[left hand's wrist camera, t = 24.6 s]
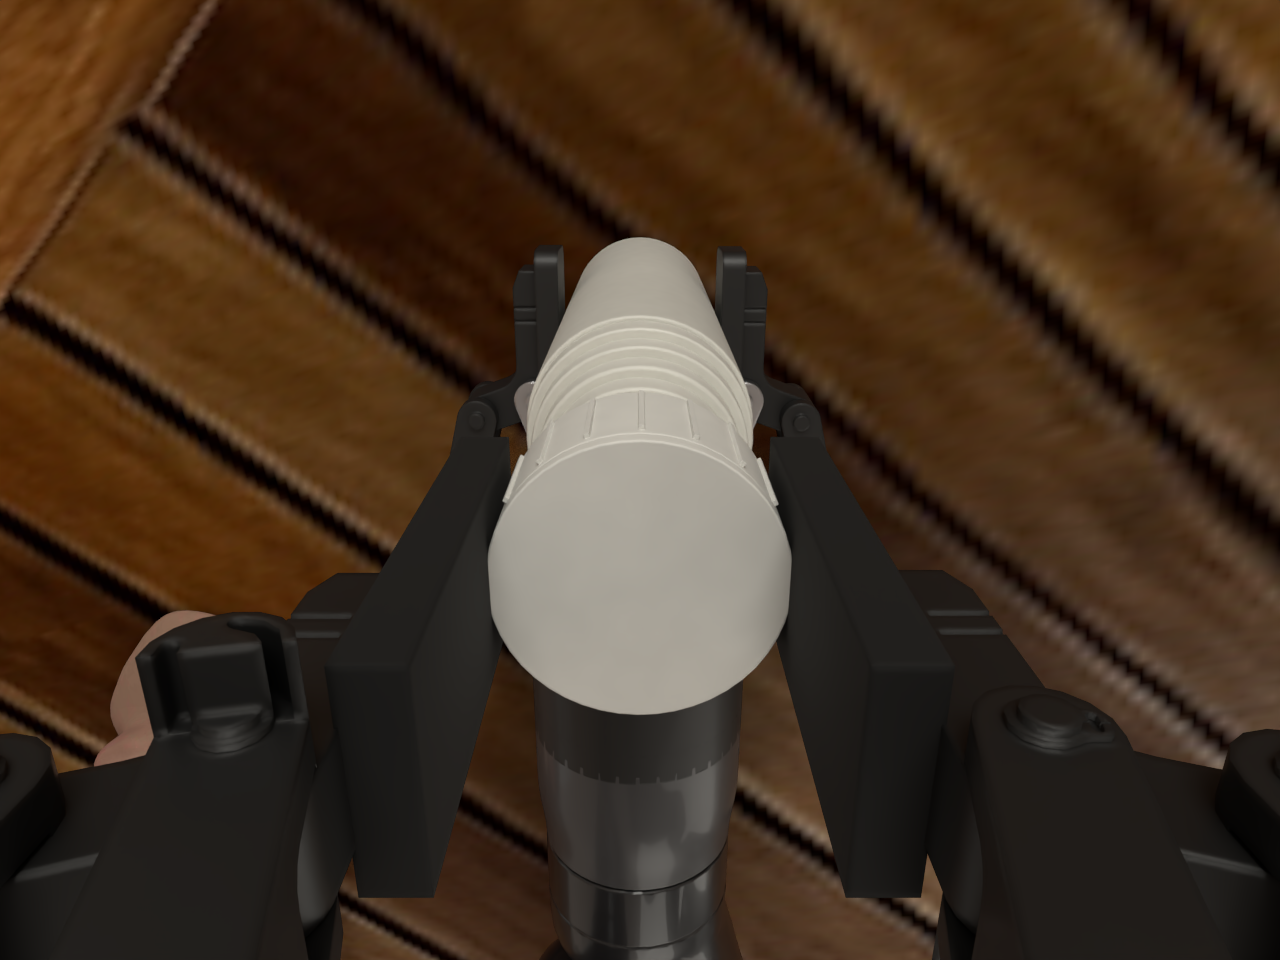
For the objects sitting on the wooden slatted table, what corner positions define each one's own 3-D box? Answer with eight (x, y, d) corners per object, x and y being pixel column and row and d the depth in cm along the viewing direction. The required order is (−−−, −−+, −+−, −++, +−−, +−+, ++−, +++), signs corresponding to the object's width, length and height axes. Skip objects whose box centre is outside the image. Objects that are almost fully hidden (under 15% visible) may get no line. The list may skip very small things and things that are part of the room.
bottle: (725, 269, 33) (864, 480, 12) (672, 385, 34) (719, 740, 14) (605, 215, 32) (544, 346, 12) (556, 337, 34) (430, 635, 13)
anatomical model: (51, 645, 34) (354, 693, 34) (110, 595, 37) (382, 639, 38) (65, 906, 38) (332, 943, 39) (116, 838, 42) (359, 873, 43)
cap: (782, 389, 14) (809, 437, 11) (763, 636, 15) (784, 721, 13) (501, 386, 14) (474, 433, 11) (511, 633, 15) (490, 718, 13)
